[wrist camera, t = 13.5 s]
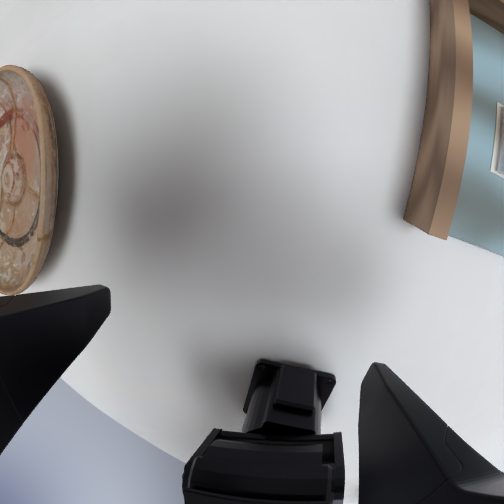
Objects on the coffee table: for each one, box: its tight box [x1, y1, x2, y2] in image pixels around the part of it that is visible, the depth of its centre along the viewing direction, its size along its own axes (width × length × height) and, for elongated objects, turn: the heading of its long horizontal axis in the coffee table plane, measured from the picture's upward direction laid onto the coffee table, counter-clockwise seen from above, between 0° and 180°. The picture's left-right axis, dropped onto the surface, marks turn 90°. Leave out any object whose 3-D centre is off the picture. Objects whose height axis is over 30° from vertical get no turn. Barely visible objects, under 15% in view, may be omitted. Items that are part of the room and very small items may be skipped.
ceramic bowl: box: [0, 65, 59, 295], centre depth 20 cm, size 23×24×5 cm
